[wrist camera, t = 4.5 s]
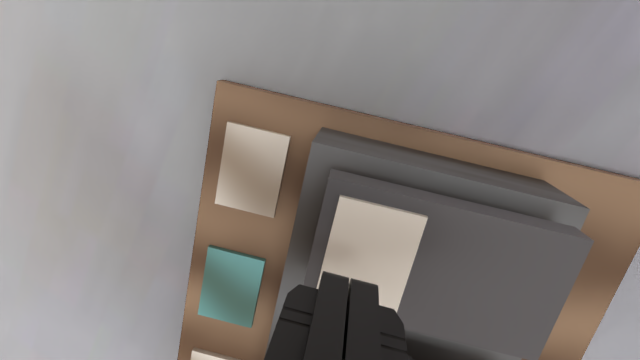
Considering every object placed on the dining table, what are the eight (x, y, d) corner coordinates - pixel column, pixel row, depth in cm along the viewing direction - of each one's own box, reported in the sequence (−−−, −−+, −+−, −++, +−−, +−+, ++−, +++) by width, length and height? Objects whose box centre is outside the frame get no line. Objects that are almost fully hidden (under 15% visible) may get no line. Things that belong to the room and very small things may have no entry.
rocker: (332, 163, 15) (328, 179, 13) (563, 218, 15) (597, 243, 13) (304, 275, 17) (297, 306, 14) (515, 327, 16) (539, 365, 14)
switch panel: (223, 79, 20) (181, 84, 15) (653, 182, 19) (748, 220, 15) (175, 408, 27) (134, 482, 22) (497, 495, 26) (528, 592, 21)
